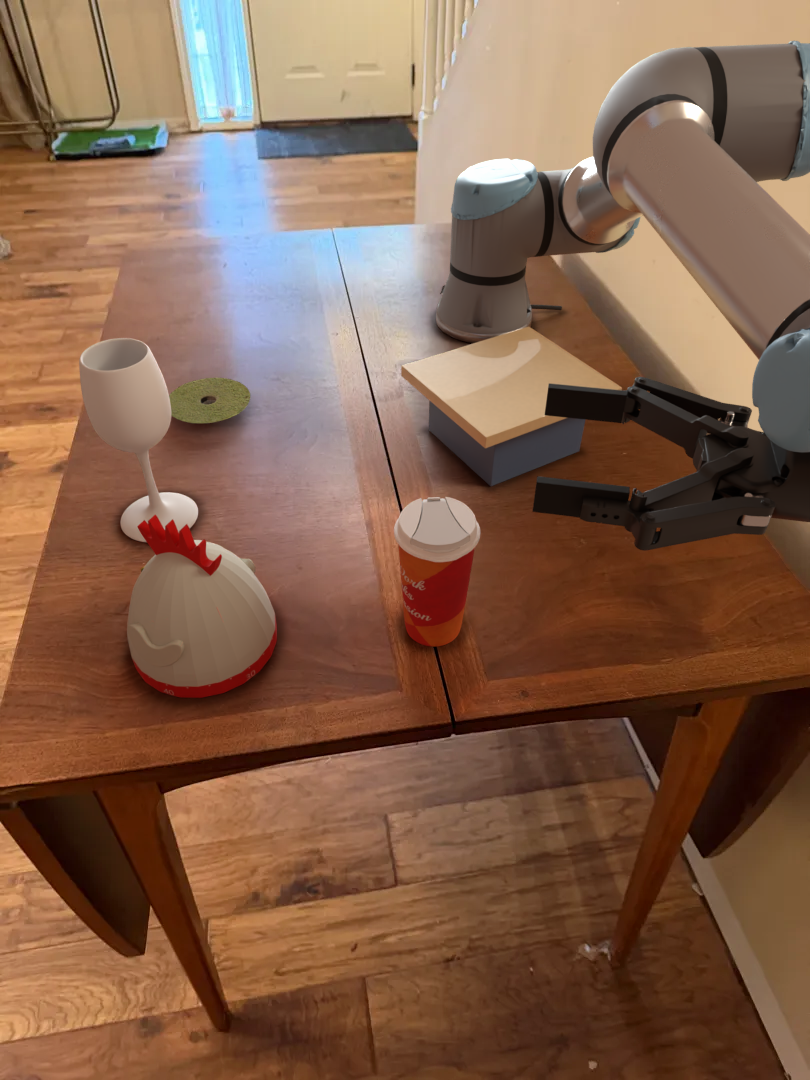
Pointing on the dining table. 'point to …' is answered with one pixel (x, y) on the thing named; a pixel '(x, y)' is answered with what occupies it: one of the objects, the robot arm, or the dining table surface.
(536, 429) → the stand
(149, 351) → the wineglass
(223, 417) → the green disc with hole
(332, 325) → the dining table surface
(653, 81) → the robot arm
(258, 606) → the kitchen timer
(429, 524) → the paper cup
